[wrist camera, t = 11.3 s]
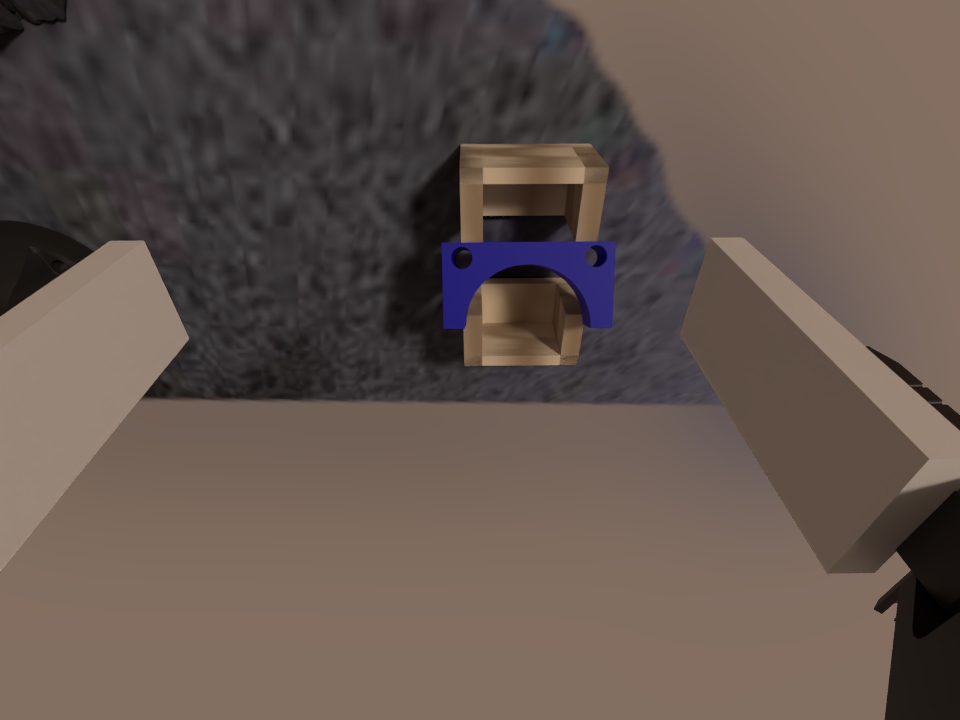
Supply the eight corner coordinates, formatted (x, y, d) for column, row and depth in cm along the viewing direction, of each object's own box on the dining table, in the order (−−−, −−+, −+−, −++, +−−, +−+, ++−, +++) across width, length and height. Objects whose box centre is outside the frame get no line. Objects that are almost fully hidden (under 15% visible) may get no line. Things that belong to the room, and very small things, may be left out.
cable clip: (447, 246, 37) (448, 322, 38) (441, 242, 33) (443, 328, 34) (600, 245, 37) (597, 321, 38) (615, 241, 32) (611, 327, 33)
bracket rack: (464, 326, 44) (464, 365, 40) (460, 144, 34) (459, 168, 30) (565, 325, 44) (577, 364, 40) (589, 143, 35) (608, 167, 30)
